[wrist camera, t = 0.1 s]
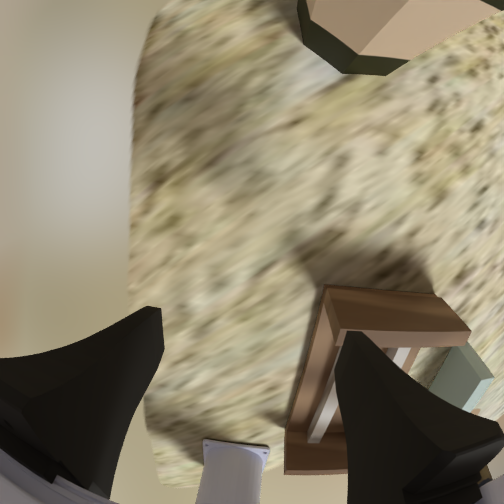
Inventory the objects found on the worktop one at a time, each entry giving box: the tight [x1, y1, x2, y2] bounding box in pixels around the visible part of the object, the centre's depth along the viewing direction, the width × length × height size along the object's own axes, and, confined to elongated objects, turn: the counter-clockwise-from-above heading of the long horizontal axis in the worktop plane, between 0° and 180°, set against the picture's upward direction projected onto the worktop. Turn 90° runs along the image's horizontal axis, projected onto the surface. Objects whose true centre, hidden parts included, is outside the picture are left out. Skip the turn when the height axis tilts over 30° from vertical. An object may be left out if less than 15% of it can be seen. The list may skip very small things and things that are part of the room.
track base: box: [284, 284, 472, 475], centre depth 20 cm, size 18×10×6 cm, turn 174°
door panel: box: [428, 341, 495, 413], centre depth 20 cm, size 8×2×6 cm, turn 175°
